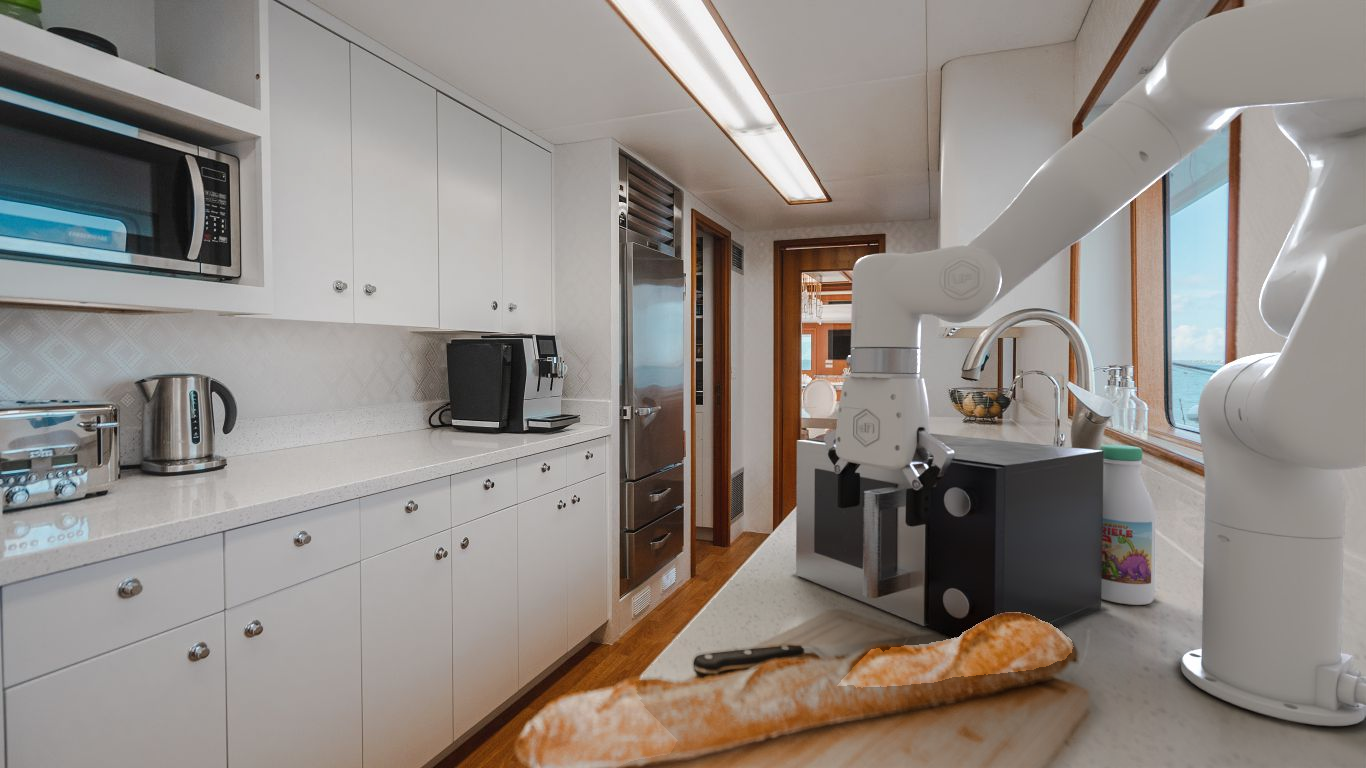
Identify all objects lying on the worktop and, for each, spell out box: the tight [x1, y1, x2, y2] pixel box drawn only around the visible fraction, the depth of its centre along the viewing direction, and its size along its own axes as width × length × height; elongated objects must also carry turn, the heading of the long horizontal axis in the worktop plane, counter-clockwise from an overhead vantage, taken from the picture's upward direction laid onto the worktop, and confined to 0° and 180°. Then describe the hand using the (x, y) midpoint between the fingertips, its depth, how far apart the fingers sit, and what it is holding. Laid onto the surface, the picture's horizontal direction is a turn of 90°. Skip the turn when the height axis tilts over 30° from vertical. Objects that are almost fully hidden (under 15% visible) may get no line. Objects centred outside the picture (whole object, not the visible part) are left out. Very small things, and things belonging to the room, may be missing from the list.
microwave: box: [805, 432, 1104, 639], centre depth 85 cm, size 24×30×20 cm
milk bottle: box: [1099, 444, 1157, 606], centre depth 83 cm, size 8×8×20 cm
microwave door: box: [795, 439, 933, 627], centre depth 80 cm, size 8×22×20 cm, turn 33°
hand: (881, 515), depth 71 cm, fingers open, 9 cm apart
